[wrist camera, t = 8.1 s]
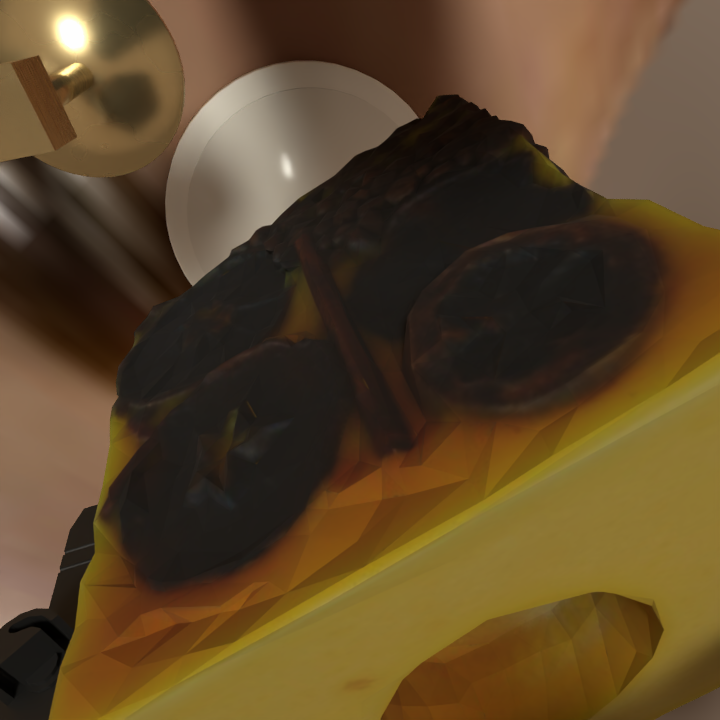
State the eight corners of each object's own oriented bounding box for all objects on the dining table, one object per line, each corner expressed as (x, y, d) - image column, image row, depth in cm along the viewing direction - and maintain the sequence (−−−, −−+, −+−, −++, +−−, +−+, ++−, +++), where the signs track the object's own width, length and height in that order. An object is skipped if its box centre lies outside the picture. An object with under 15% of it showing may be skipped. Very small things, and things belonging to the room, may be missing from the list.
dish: (222, 359, 28) (222, 371, 27) (114, 100, 21) (109, 105, 20) (447, 295, 30) (455, 305, 29) (424, 28, 22) (434, 29, 21)
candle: (449, 81, 12) (895, 227, 4) (569, 355, 18) (854, 634, 10) (119, 321, 14) (-11, 770, 6) (329, 503, 20) (411, 853, 12)
